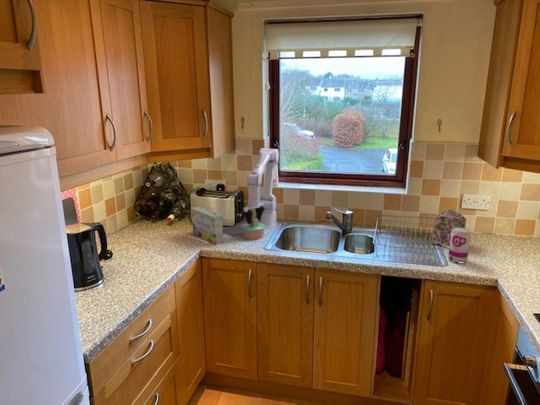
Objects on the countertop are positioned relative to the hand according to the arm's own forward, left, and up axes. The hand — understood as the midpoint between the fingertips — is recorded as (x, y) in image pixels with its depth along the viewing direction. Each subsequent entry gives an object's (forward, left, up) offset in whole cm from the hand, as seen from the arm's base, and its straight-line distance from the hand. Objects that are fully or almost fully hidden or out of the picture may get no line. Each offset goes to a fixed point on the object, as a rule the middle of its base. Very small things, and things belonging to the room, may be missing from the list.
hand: (254, 222), depth 218 cm
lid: (0, 0, -3) cm, 3 cm away
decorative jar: (-55, +84, -8) cm, 100 cm away
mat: (0, -14, -8) cm, 17 cm away
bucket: (0, 0, -8) cm, 8 cm away
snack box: (+18, -16, -8) cm, 26 cm away
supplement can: (-35, +94, -8) cm, 100 cm away
